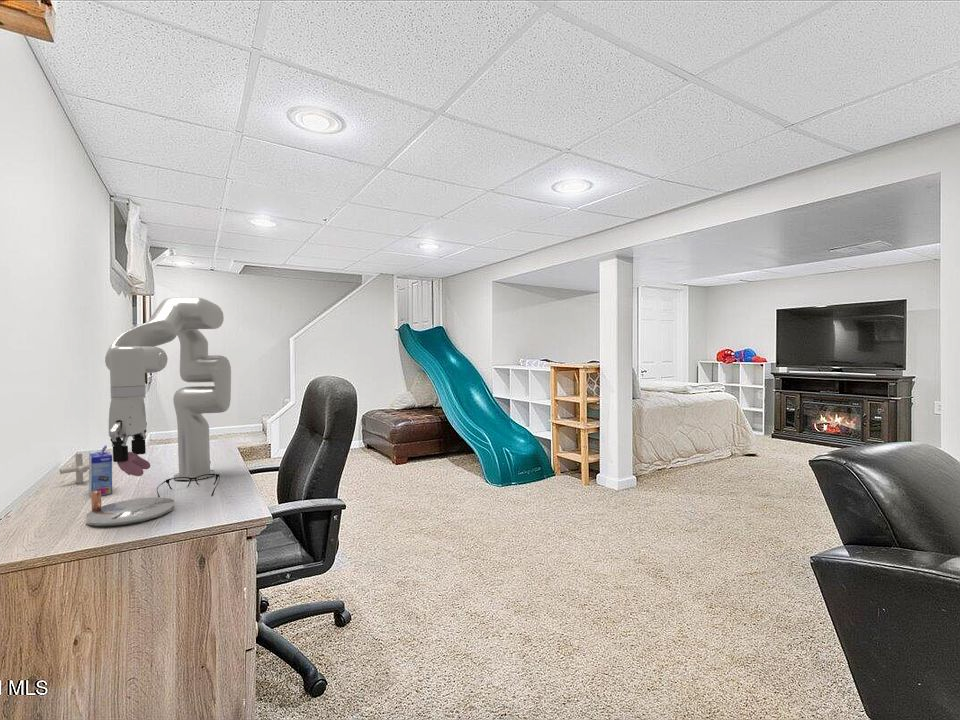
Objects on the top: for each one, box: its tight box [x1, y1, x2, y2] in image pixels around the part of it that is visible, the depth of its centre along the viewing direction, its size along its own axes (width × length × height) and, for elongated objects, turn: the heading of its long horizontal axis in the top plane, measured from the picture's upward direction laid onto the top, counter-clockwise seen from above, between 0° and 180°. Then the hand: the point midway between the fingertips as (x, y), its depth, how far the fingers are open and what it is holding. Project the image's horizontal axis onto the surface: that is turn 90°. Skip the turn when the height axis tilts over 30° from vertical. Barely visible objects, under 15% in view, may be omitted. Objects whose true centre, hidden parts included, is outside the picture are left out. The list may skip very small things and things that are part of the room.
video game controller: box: [116, 451, 151, 477], centre depth 130 cm, size 10×5×7 cm, turn 24°
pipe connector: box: [59, 452, 89, 484], centre depth 165 cm, size 10×10×10 cm
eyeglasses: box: [156, 473, 221, 497], centre depth 151 cm, size 16×16×4 cm
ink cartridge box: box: [88, 444, 113, 496], centre depth 153 cm, size 10×6×14 cm, turn 42°
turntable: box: [85, 490, 175, 527], centre depth 130 cm, size 19×19×6 cm
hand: (130, 457), depth 130 cm, fingers closed on video game controller, 8 cm apart
